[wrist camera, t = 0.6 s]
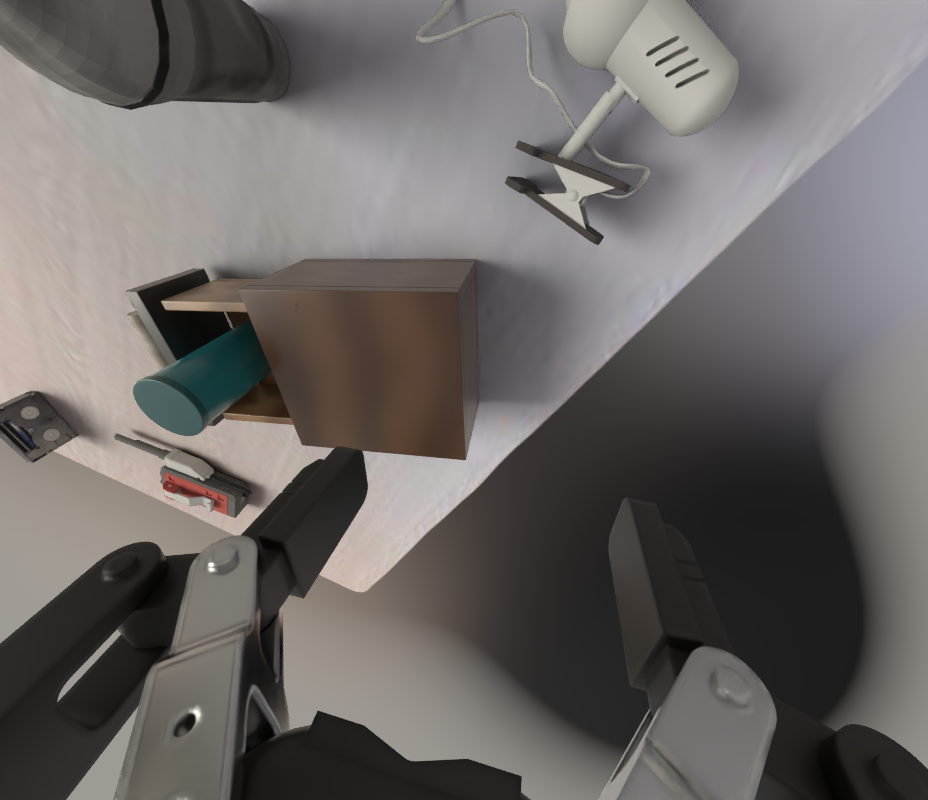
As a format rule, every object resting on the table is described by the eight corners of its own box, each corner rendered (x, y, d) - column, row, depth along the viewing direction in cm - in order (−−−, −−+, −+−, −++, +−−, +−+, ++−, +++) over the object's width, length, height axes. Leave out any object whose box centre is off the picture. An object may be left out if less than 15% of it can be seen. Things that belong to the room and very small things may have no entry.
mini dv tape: (29, 390, 49) (-26, 416, 45) (37, 391, 49) (-17, 417, 44) (70, 434, 54) (24, 462, 49) (78, 435, 54) (33, 462, 49)
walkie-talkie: (256, 477, 52) (123, 424, 50) (236, 501, 49) (91, 444, 47) (254, 508, 57) (133, 461, 55) (235, 531, 54) (105, 482, 52)
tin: (233, 316, 34) (117, 377, 24) (281, 317, 33) (180, 381, 24) (253, 363, 37) (157, 433, 27) (298, 365, 36) (214, 439, 27)
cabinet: (343, 394, 40) (301, 445, 33) (304, 259, 31) (237, 289, 24) (479, 402, 37) (465, 460, 30) (476, 258, 29) (457, 292, 22)
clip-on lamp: (416, 75, 25) (589, 252, 26) (362, 47, 20) (578, 267, 21) (526, -180, 18) (759, 79, 19) (484, -323, 13) (803, 41, 14)
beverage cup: (313, 7, 22) (-305, -408, 6) (306, 143, 26) (-60, 120, 10) (200, -44, 21) (-811, -649, 5) (212, 103, 26) (-329, 12, 10)
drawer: (217, 386, 41) (168, 422, 36) (155, 268, 33) (79, 290, 28) (366, 396, 38) (338, 436, 33) (335, 268, 30) (291, 294, 25)
